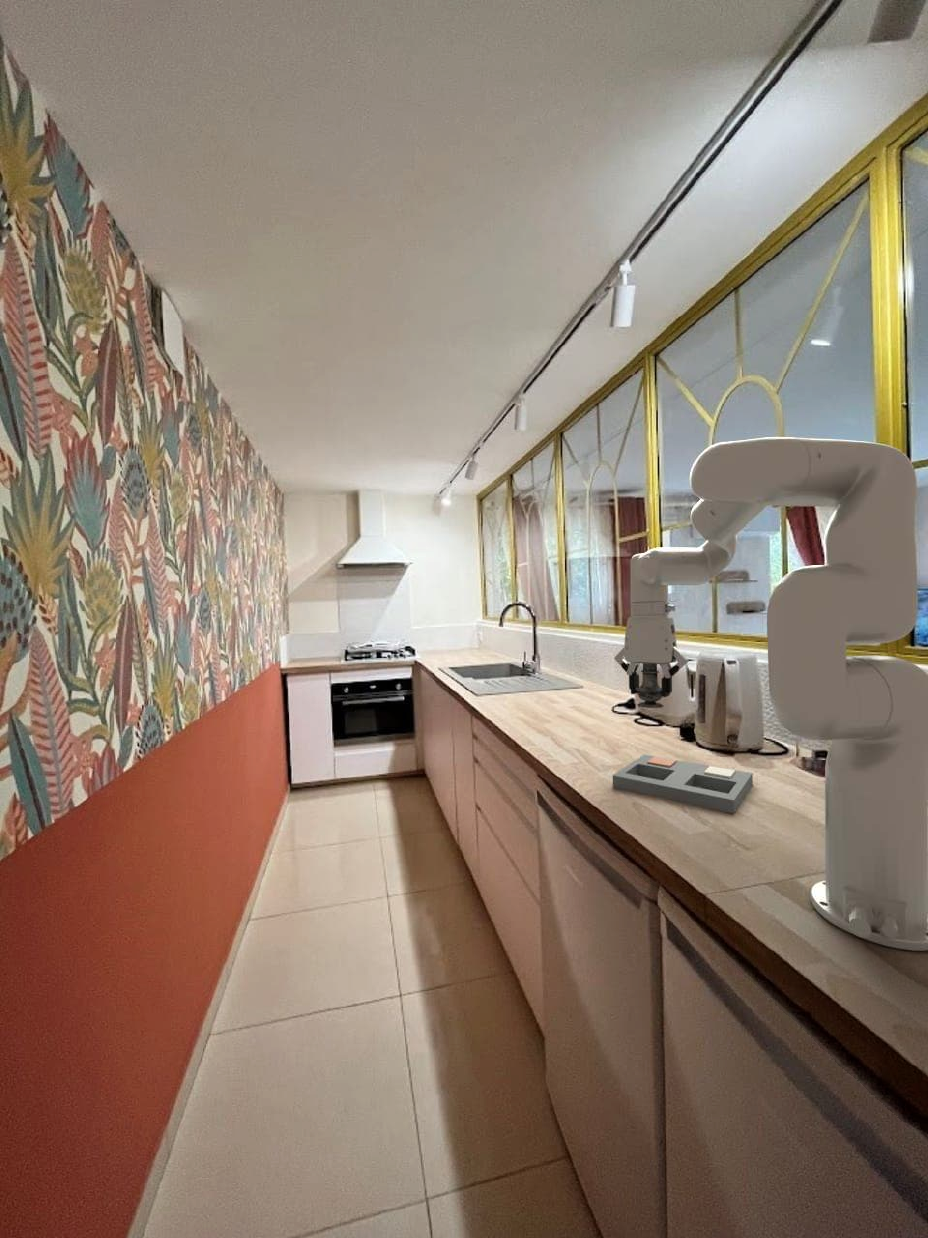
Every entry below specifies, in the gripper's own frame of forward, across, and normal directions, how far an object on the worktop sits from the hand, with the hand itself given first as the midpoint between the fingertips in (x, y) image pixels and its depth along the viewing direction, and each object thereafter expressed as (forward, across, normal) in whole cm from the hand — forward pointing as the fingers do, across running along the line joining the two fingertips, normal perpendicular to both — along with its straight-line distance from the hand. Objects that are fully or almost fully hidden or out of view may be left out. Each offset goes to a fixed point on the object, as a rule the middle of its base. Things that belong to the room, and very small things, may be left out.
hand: (650, 693), depth 106 cm
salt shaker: (+3, 0, 0) cm, 3 cm away
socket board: (+19, -6, -3) cm, 20 cm away
